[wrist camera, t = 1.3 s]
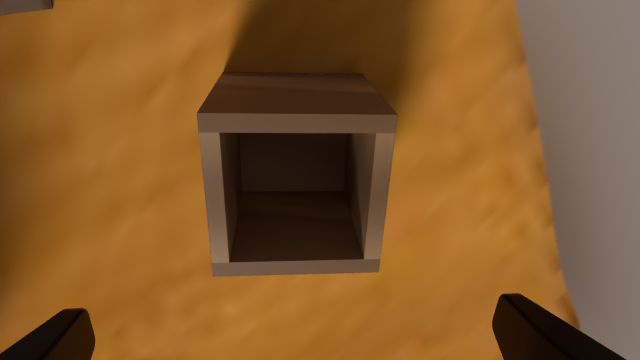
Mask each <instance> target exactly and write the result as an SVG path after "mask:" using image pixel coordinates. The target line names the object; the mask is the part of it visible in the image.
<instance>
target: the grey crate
mask: <svg viewBox="0 0 640 360" xmlns="http://www.w3.org/2000/svg"><path fill="white" fill-rule="evenodd" d="M45 9H53V8H52V4H51V0H0V15H5V14H13V13H21V12H29V11H37V10H45Z"/></svg>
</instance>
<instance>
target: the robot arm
mask: <svg viewBox="0 0 640 360" xmlns="http://www.w3.org/2000/svg"><path fill="white" fill-rule="evenodd" d="M492 328H493V332H494V335H495V337H496V340H497V343H498V345H499V348H500V351H501V353H502V356H503V359H504V360H626V359H624V358H622V357H621V356H620V355H618V354H616V353H615V352H613V351H612V350H610V349H608V348H607V347H605V346H603V345H602V344H600V343H599V342H597V341H595V340H594V339H592V338H591V337H589V336H587V335H586V334H584V333H583V332H581V331H579V330H578V329H576V328H575V327H573V326H571V325H570V324H568V323H567V322H565V321H563V320H562V319H560V318H558V317H557V316H555V315H554V314H552V313H550V312H549V311H547V310H546V309H544V308H542V307H541V306H539V305H538V304H536V303H534V302H533V301H531V300H530V299H528V298H526V297H525V296H523V295H521V294H518V293H511V294H502V295H501V296H500V297H499V299H498V303H497V306H496V310H495V313H494V317H493V321H492ZM94 347H95V335H94V331H93V328H92V324H91V320H90V317H89V314H88V311H87V310H86V309H84V308H71V309H64V310H62V311H60V312H59V313H57V314H56V315H55V316H53V317H52V318H50V319H49V320H47V321H46V322H45V323H43V324H42V325H40V326H39V327H38V328H36V329H35V330H33V331H32V332H30V333H29V334H28V335H26V336H25V337H23V338H22V339H21V340H19V341H18V342H16V343H15V344H13V345H12V346H11V347H9V348H8V349H6V350H5V351H4V352H2V353H1V354H0V360H91V357H92V354H93V351H94Z"/></svg>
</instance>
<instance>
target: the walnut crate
mask: <svg viewBox="0 0 640 360" xmlns="http://www.w3.org/2000/svg"><path fill="white" fill-rule="evenodd" d="M197 120H198V130H199V140H200V150H201V160H202V170H203V180H204V190H205V200H206V210H207V220H208V230H209V241H210V251H211V261H212V271H213V277H218V276H255V275H293V274H330V273H368V272H379V266H380V257H381V249H382V241H383V232H384V224H385V215H386V207H387V199H388V190H389V182H390V174H391V165H392V157H393V149H394V140H395V132H396V124H397V114H396V112H395V111H394V110H393V109H392V108H391V107H390V105H389V104H388V103H387V102H386V101H385V100H384V98H383V97H382V96H381V95H380V94H379V93H378V91H377V90H376V89H375V88H374V87H373V86H372V84H371V83H370V82H369V81H368V80H367V79H366V78H365V76H364V75H363V74H312V73H254V72H223V73H222V74H221V76H220V77H219V79H218V81H217V82H216V84H215V85H214V87H213V88H212V90H211V92H210V93H209V95H208V96H207V98H206V99H205V101H204V103H203V104H202V106H201V107H200V109H199V110H198V112H197Z"/></svg>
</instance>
